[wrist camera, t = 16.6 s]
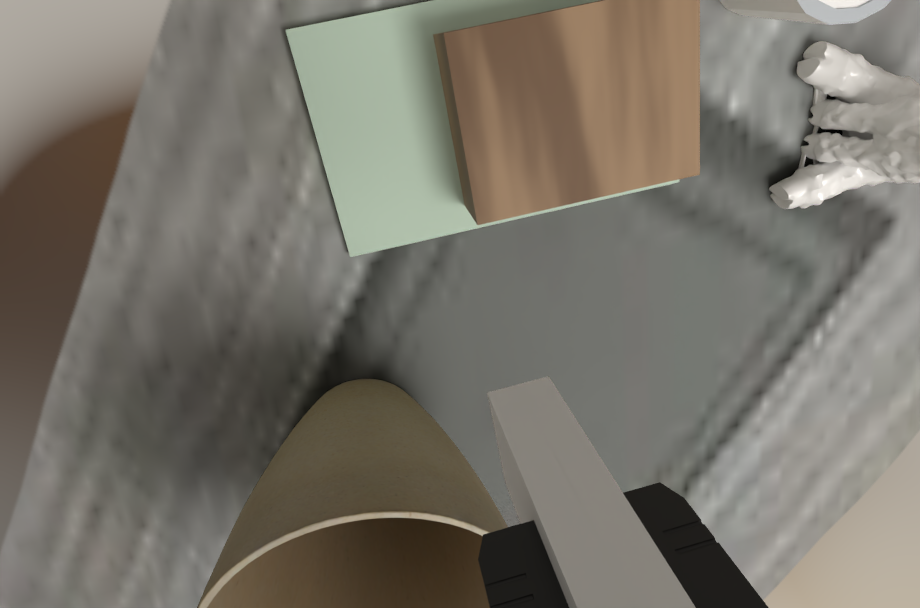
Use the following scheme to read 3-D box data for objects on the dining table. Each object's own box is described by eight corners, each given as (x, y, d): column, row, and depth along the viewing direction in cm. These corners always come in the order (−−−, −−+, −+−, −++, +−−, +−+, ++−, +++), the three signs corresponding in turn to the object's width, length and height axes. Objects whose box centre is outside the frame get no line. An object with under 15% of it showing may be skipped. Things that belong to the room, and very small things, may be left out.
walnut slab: (477, 225, 29) (699, 174, 30) (443, 33, 25) (699, -20, 26) (464, 205, 33) (663, 160, 34) (433, 34, 29) (658, -12, 30)
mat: (350, 253, 34) (350, 257, 33) (286, 30, 29) (285, 29, 28) (674, 179, 35) (679, 182, 34) (669, -47, 30) (675, -49, 29)
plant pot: (320, 540, 42) (301, 796, 28) (204, 386, 36) (101, 617, 21) (507, 457, 42) (585, 674, 27) (424, 287, 35) (469, 454, 21)
